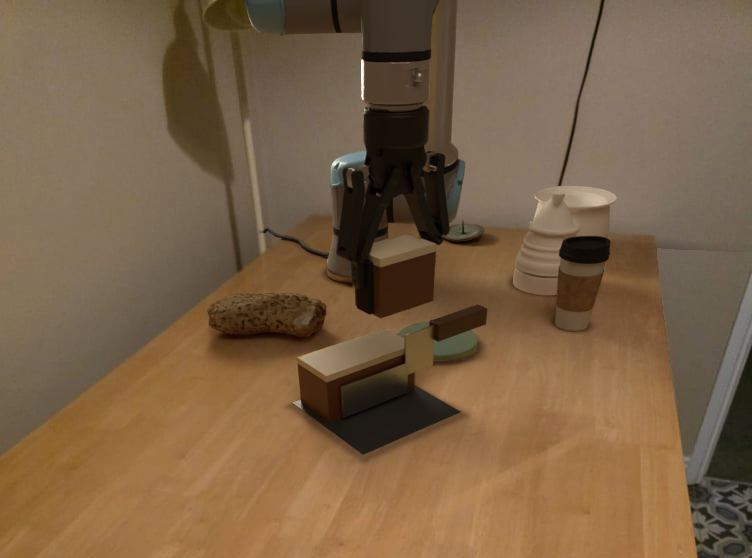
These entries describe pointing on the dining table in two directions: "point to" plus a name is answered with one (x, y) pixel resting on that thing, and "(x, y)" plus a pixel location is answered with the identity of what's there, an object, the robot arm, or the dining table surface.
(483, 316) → the square cleaver
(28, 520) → the dining table surface
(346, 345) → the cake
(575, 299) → the coffee cup
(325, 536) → the dining table surface
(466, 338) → the serving plate
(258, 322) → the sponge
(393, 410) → the cake board
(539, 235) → the honey pot
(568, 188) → the pot
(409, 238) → the cake slice
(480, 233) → the lid
